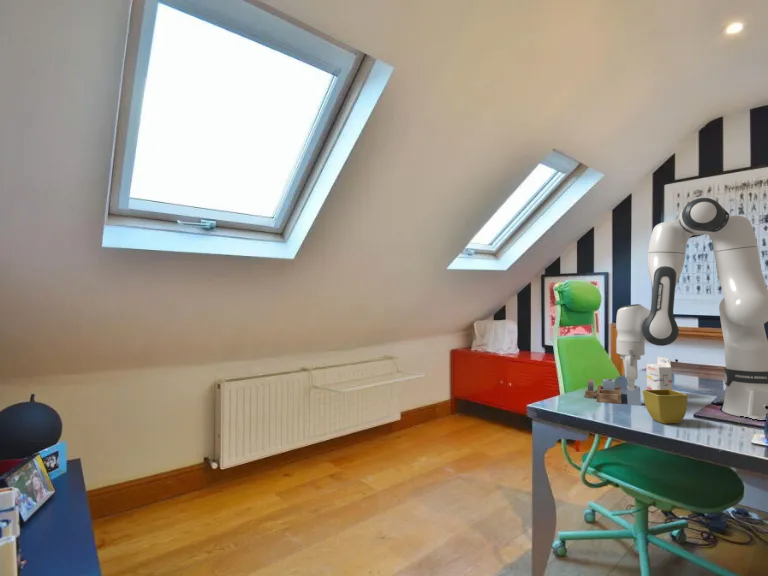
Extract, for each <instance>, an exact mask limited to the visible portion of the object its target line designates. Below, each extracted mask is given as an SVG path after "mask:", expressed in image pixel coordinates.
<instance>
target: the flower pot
mask: <svg viewBox="0 0 768 576" xmlns="http://www.w3.org/2000/svg"><path fill="white" fill-rule="evenodd" d="M642 396H643V399H644V405H645V408H646V411H647V412H648V414H649V416H650V418H652V420H654V421H656V422H658V423H661V424H663V425H665V424H680V423H681V421H683V419H684V418H685V416H686V413H687V409H688V408H687V407H688V397H689V396H688V394H686V393H682V392H679V391H676V390H673V389H672V390H669V389H666V390H647V389H642Z"/></svg>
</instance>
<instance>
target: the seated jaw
mask: <svg viewBox="0 0 768 576" xmlns="http://www.w3.org/2000/svg"><path fill="white" fill-rule="evenodd" d="M615 382H616V381H615V379H612V378H605V379H602V386H603V389H605V390H615V386H616V383H615Z"/></svg>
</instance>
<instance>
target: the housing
mask: <svg viewBox="0 0 768 576" xmlns="http://www.w3.org/2000/svg"><path fill="white" fill-rule="evenodd" d="M584 391H585V392H584V393H585V394H584V397H585V396H586V397H590V398H589V399H596V402H597V403H605V402H606V403H607V404H609V403H610V404H620V405H621V404H622V386H618V385H617V386H616V385H615V390H605V389H603V384H602V385H600V384H598V385H597V389H595V390H594V391H588V388H587V389H586V390H584ZM586 397H585V398H586Z"/></svg>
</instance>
